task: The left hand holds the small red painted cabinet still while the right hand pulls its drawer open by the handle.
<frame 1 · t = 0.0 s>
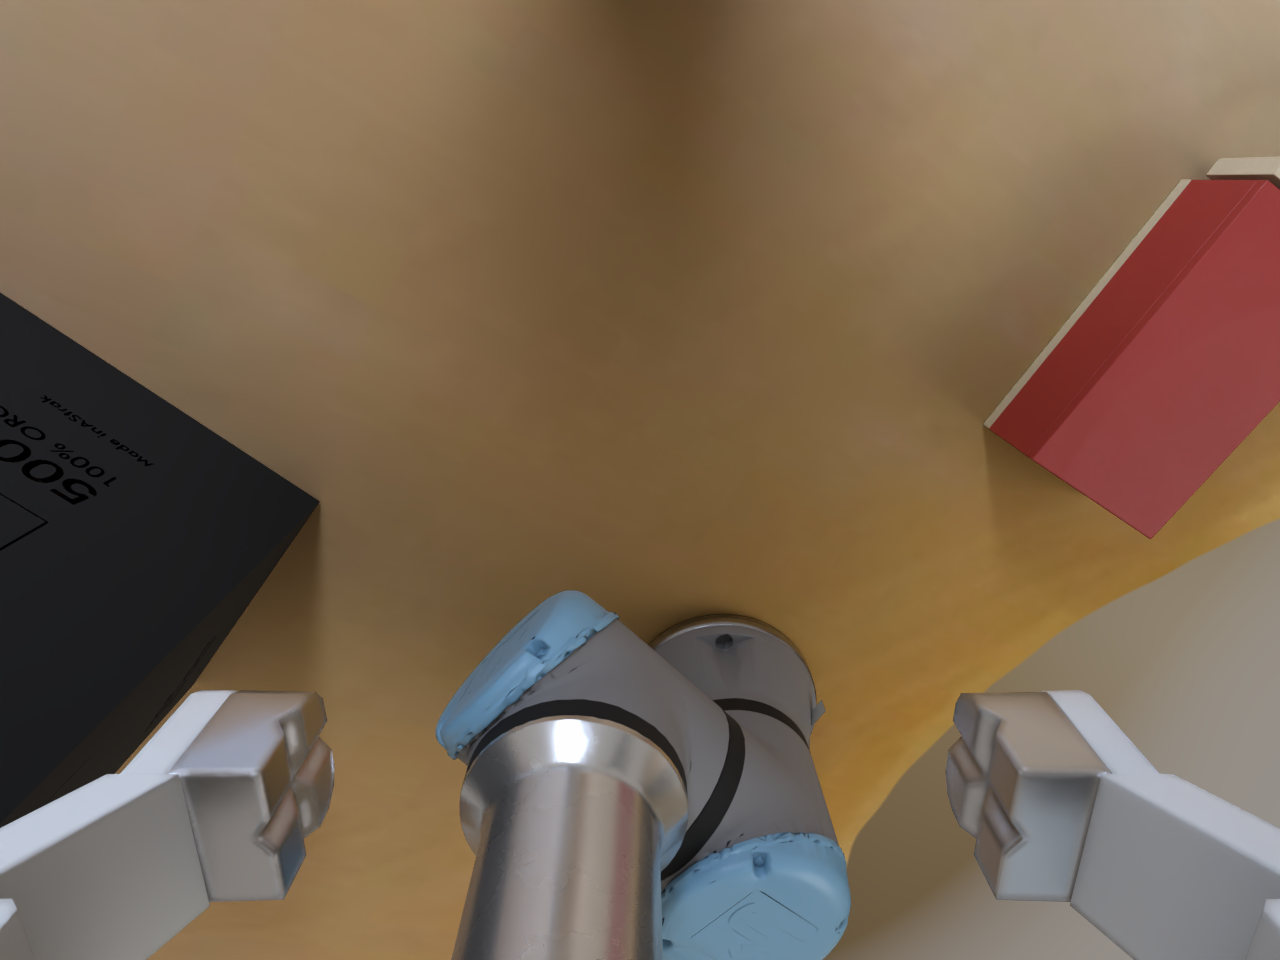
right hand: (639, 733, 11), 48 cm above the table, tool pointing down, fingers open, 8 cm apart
drawer: (1229, 287, 52), point 4 cm above the table, slide at 0.7 cm
cardboard box: (26, 455, 60), on the table
cabinet: (1132, 348, 57), on the table
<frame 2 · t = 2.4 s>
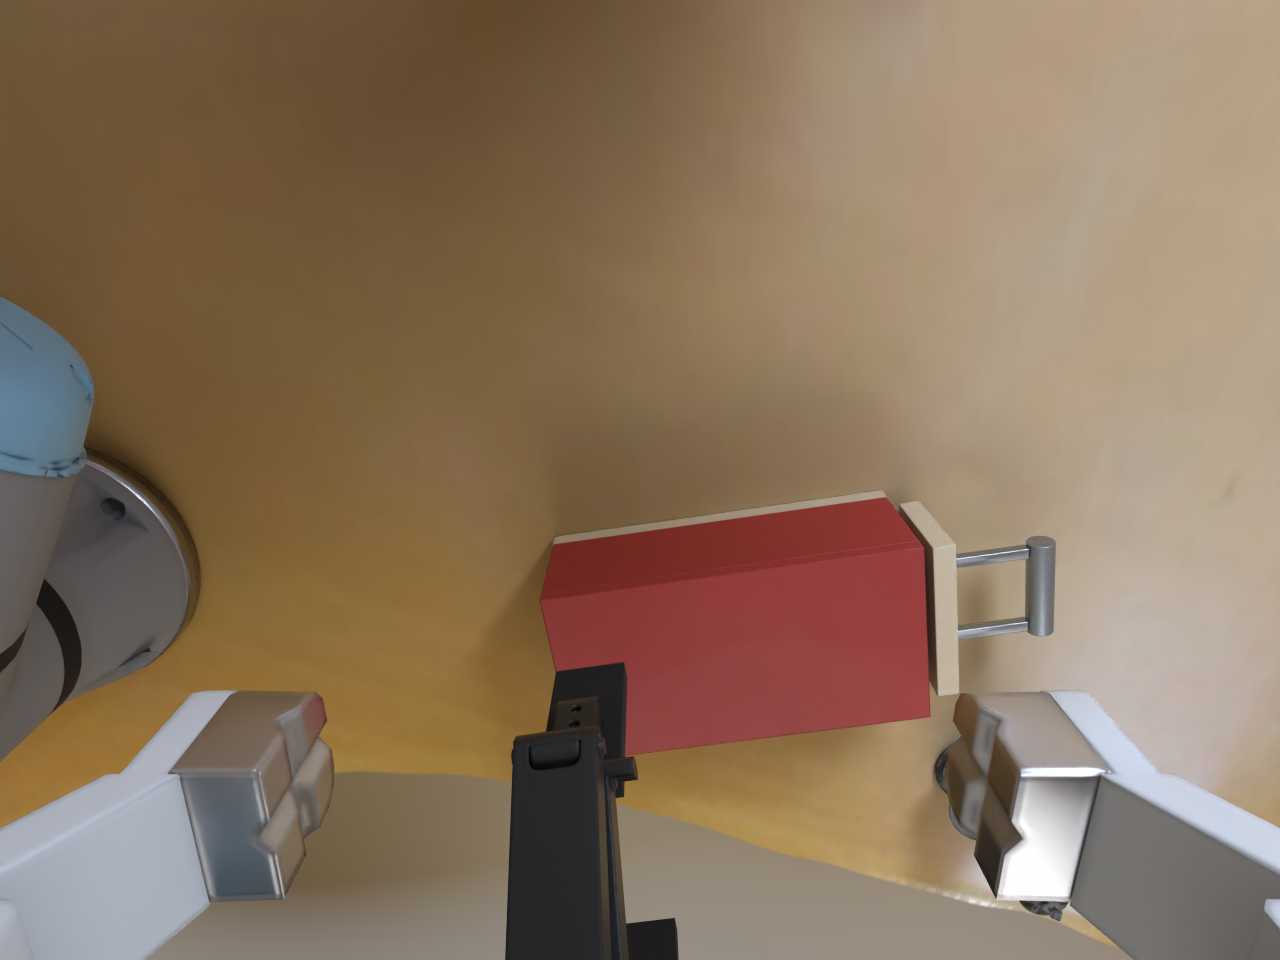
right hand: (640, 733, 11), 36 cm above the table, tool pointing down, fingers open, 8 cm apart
drawer: (828, 609, 47), point 4 cm above the table, slide at 0.7 cm
chess piece: (973, 766, 55), on the table
cabinet: (726, 590, 51), on the table
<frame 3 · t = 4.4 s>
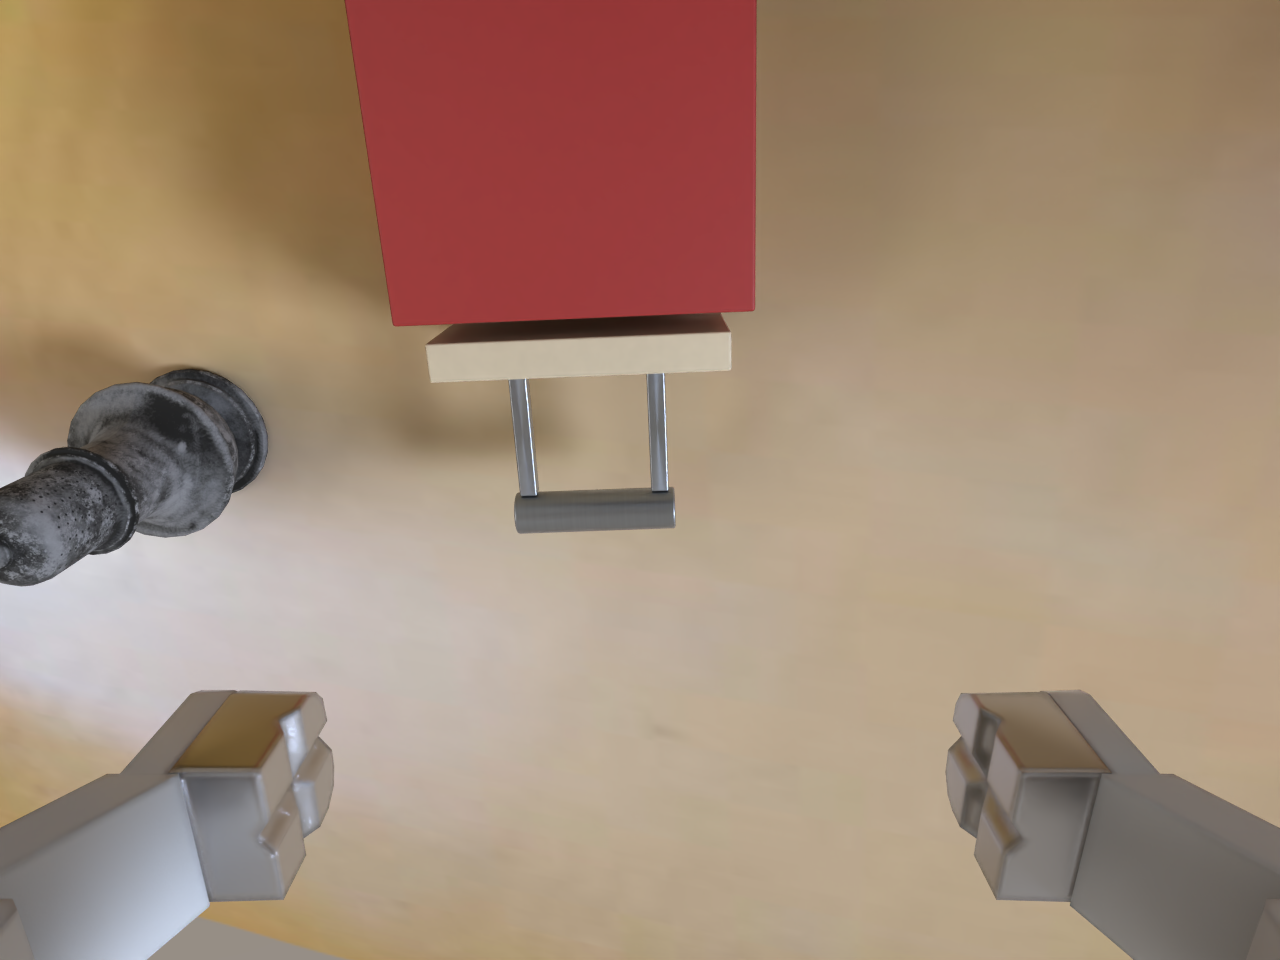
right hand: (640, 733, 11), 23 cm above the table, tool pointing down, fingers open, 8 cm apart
drawer: (573, 159, 25), point 4 cm above the table, slide at 0.7 cm
chess piece: (204, 432, 33), on the table
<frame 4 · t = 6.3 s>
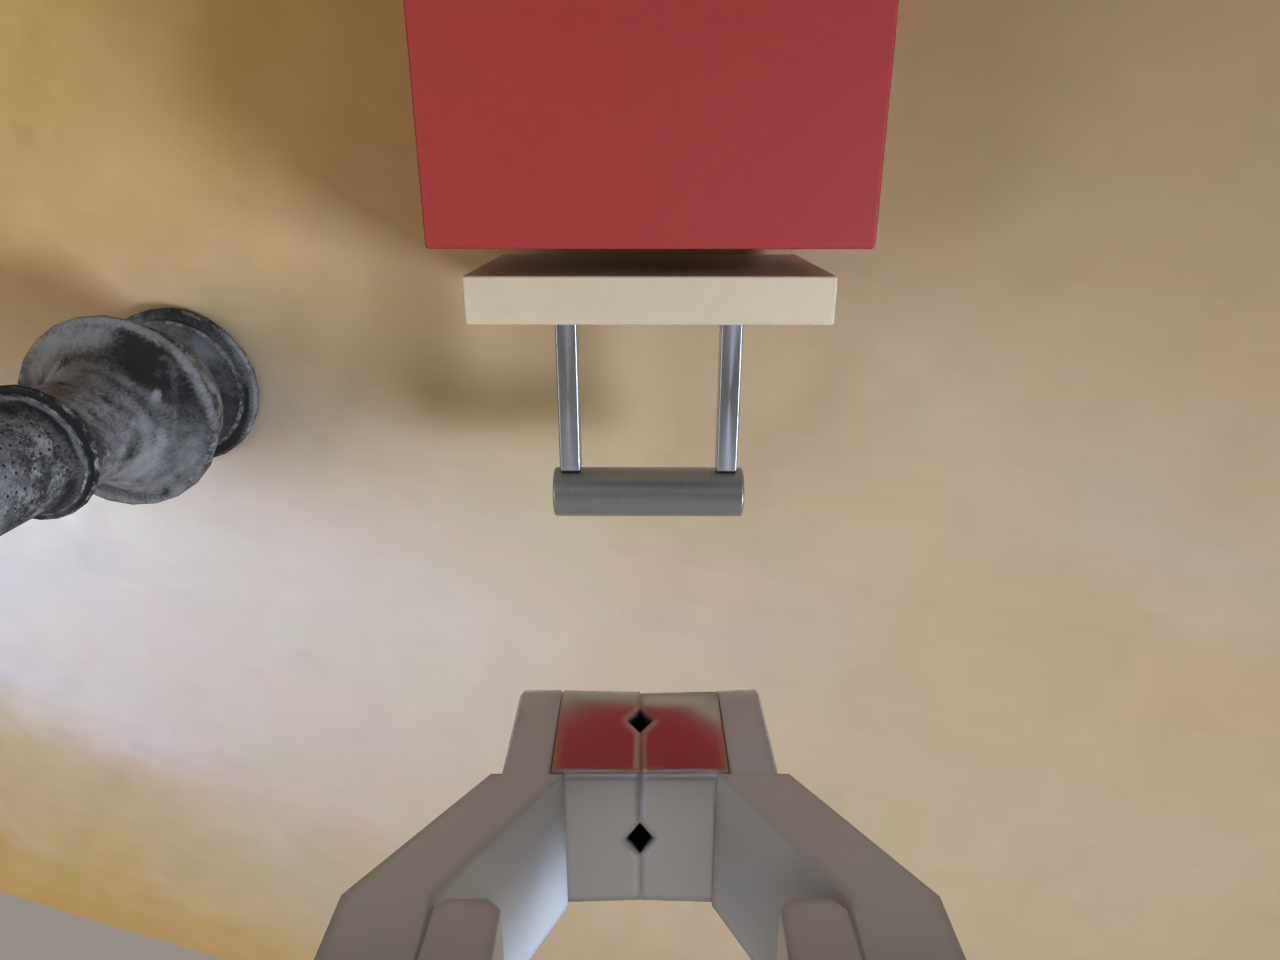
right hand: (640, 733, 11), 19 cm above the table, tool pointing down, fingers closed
drawer: (649, 62, 21), point 4 cm above the table, slide at 0.7 cm
chess piece: (184, 384, 28), on the table
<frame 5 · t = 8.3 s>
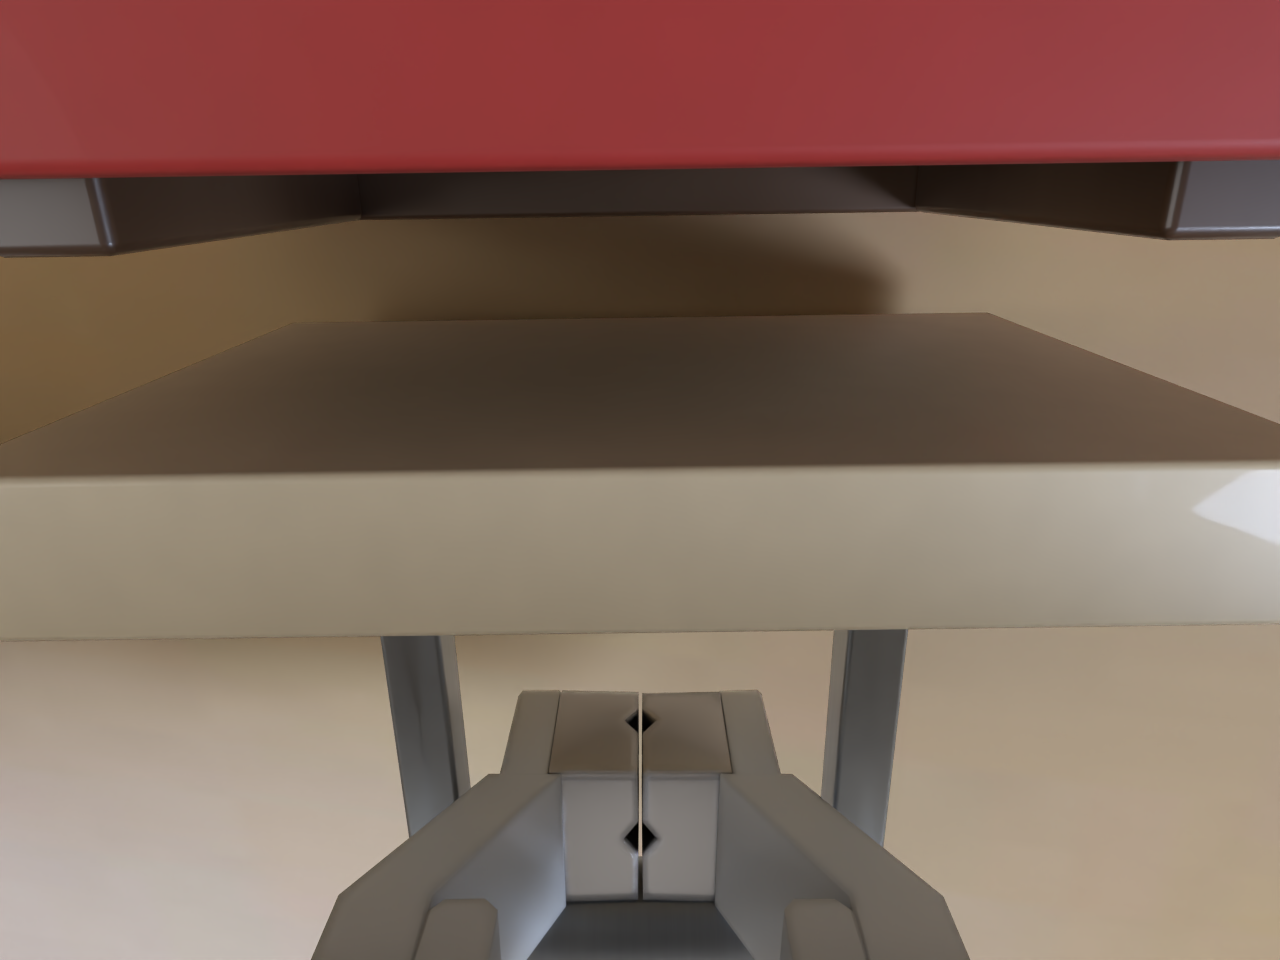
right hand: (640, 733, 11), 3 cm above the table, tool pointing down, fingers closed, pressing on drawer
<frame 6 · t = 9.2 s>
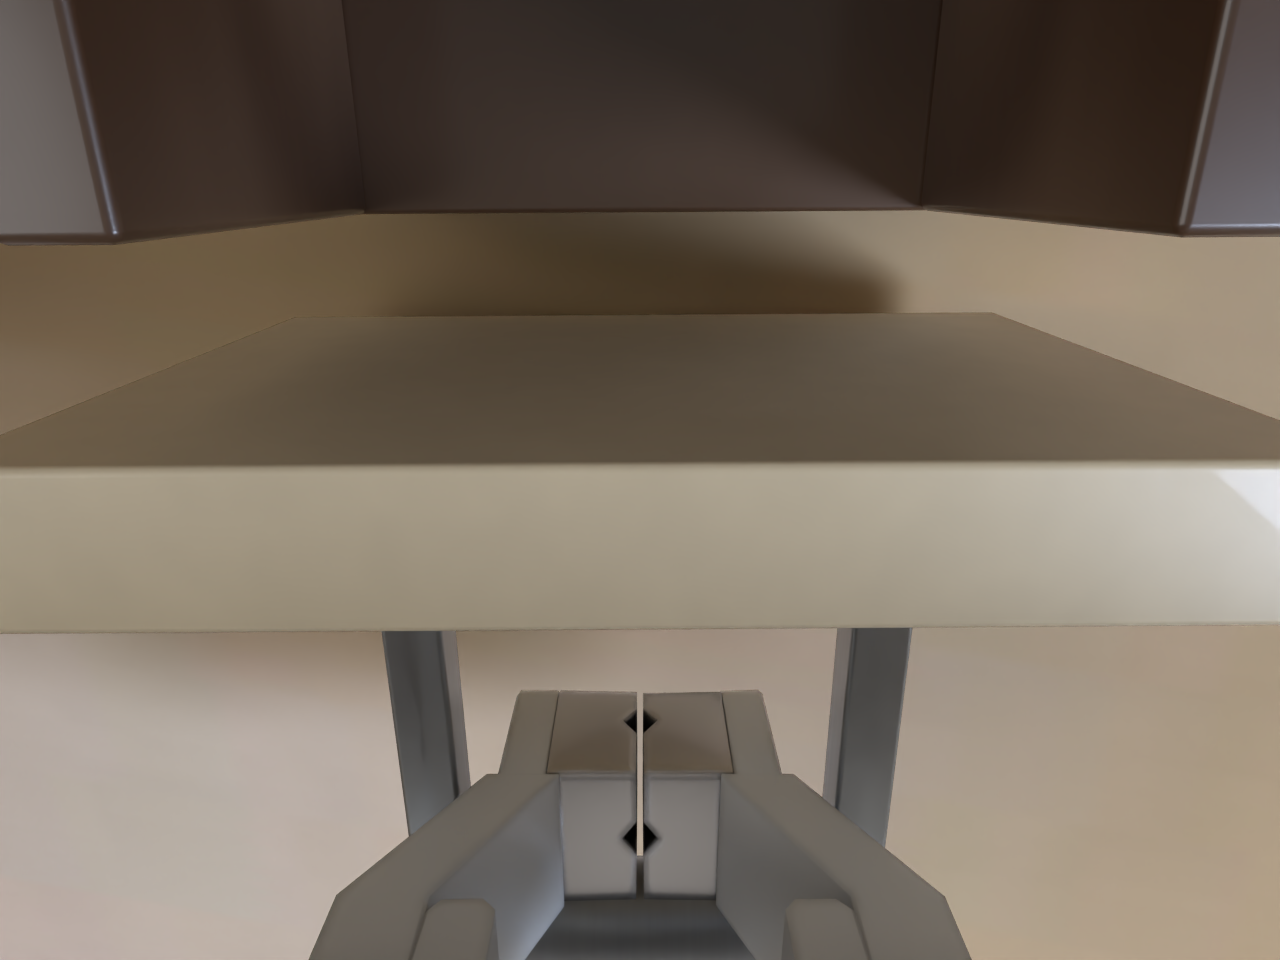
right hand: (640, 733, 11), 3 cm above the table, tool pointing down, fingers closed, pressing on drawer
when the left hand's fingers open (3 cm above the table, at t = 11.3 s): cabinet stays where it is, on the table.
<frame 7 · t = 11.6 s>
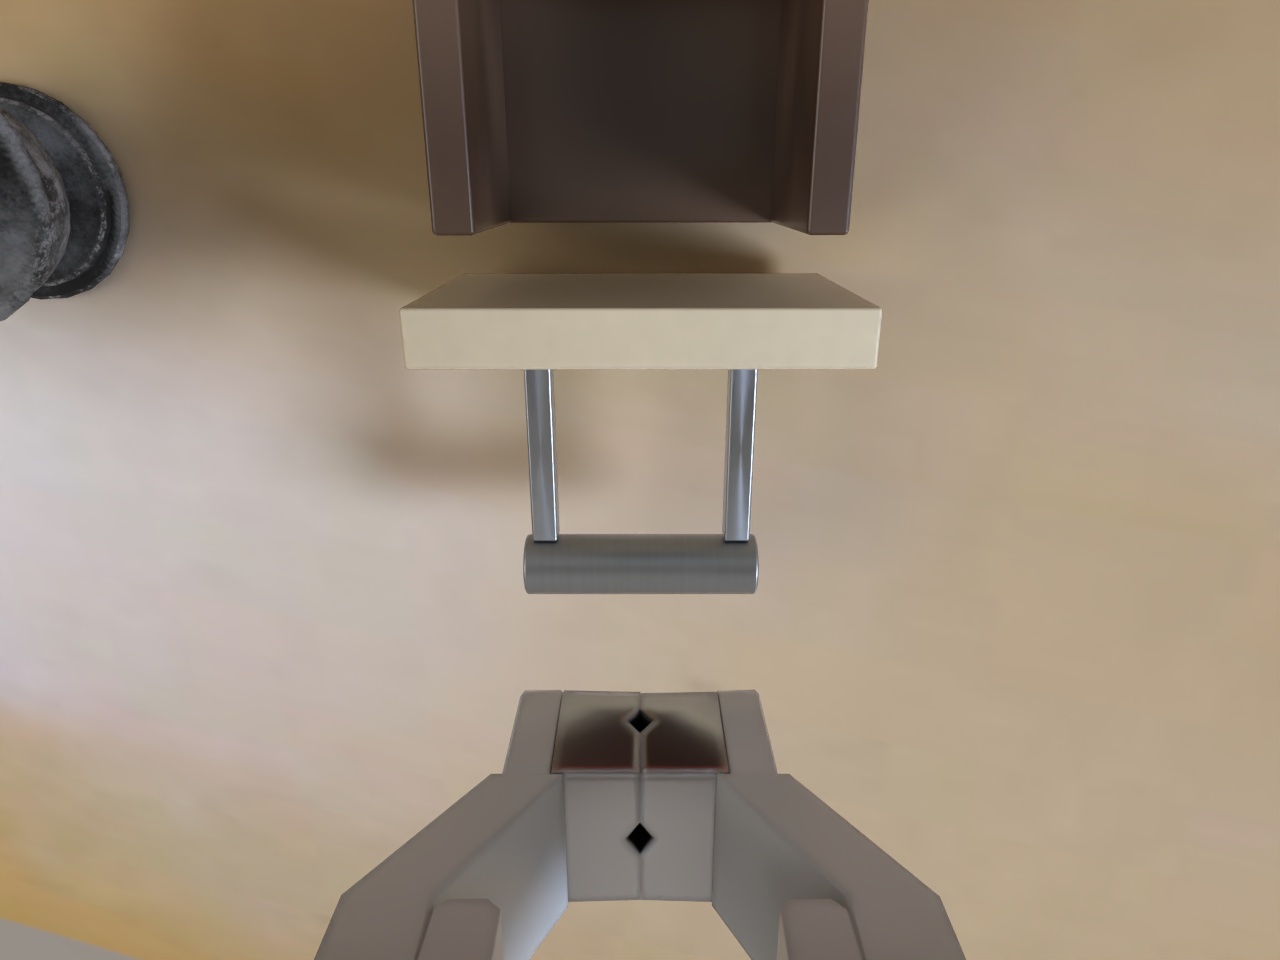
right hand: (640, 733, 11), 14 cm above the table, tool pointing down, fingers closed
drawer: (640, 34, 17), point 4 cm above the table, slide at 7.0 cm
chess piece: (30, 195, 21), on the table
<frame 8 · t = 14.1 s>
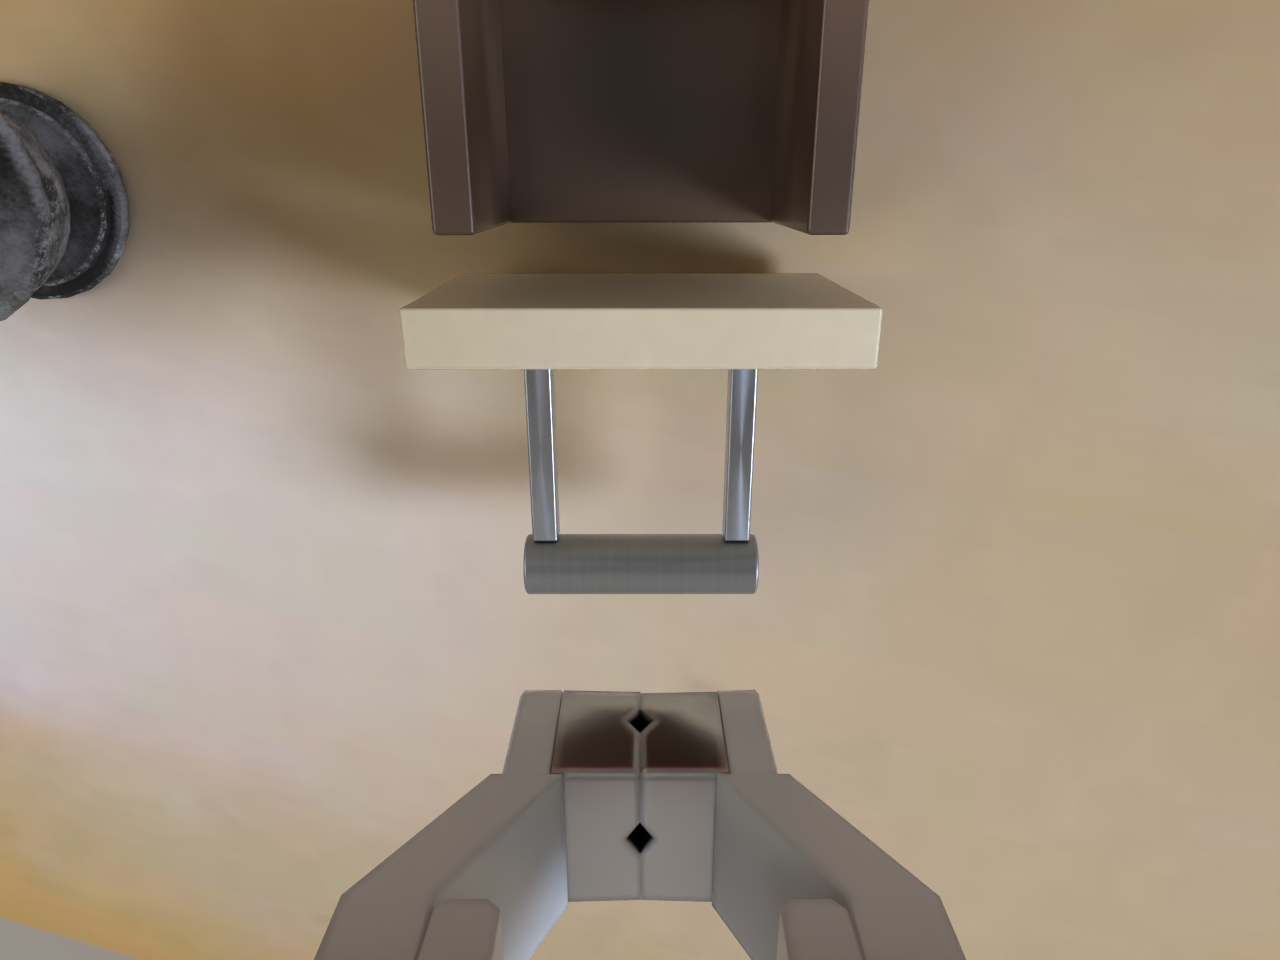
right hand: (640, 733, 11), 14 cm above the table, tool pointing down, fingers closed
drawer: (640, 34, 17), point 4 cm above the table, slide at 7.0 cm
chess piece: (30, 195, 21), on the table
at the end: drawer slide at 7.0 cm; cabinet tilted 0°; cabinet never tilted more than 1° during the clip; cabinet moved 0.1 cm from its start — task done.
